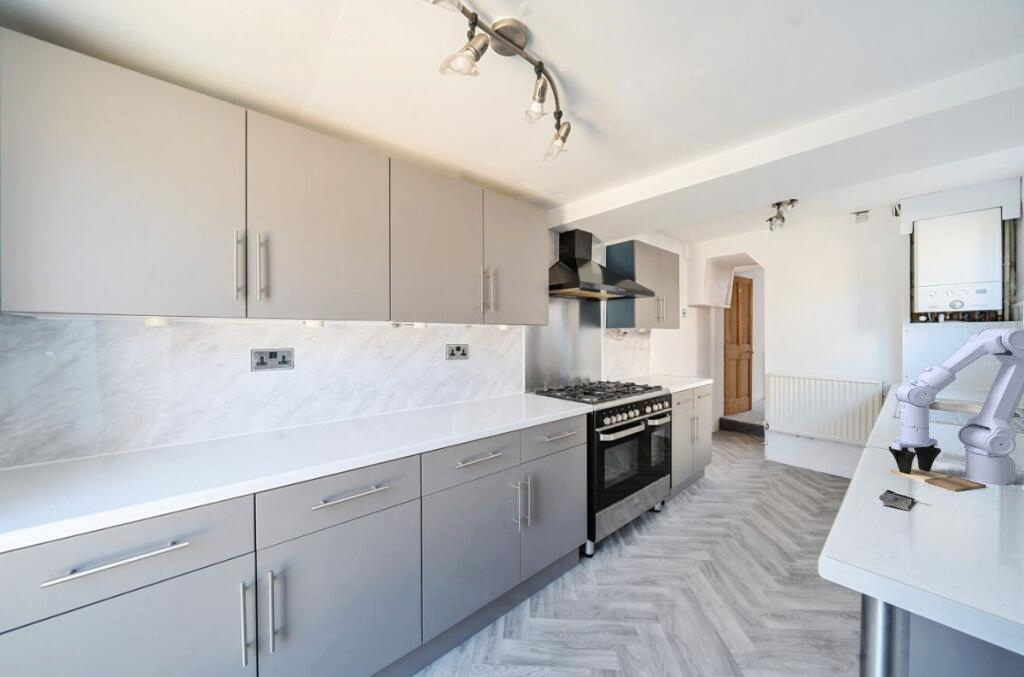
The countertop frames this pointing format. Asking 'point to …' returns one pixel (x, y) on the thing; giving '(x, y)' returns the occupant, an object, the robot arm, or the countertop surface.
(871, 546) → the countertop surface
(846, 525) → the countertop surface
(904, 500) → the driftwood
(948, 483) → the floor row
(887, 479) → the countertop surface
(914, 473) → the plank
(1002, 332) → the robot arm
